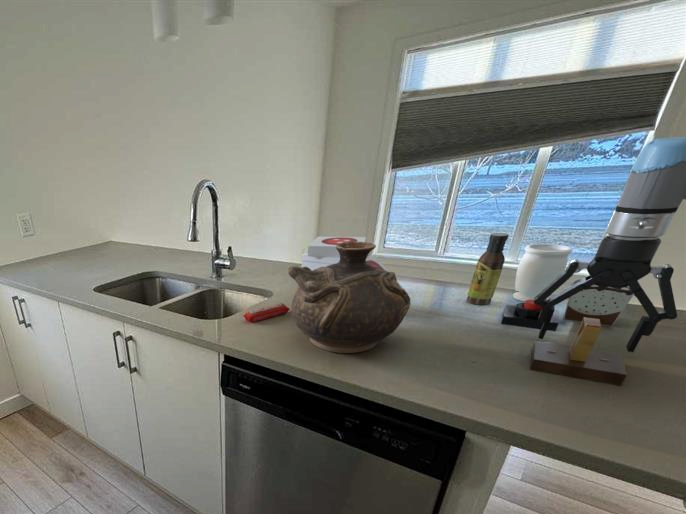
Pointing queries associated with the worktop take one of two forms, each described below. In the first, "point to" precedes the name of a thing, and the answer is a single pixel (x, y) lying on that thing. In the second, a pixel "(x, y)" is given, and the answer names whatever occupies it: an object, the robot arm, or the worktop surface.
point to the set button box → (526, 317)
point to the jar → (539, 269)
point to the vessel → (348, 301)
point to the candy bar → (266, 312)
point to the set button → (531, 305)
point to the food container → (598, 304)
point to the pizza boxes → (332, 253)
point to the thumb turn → (585, 339)
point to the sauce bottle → (488, 271)
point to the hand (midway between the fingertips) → (583, 342)
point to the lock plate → (578, 363)
